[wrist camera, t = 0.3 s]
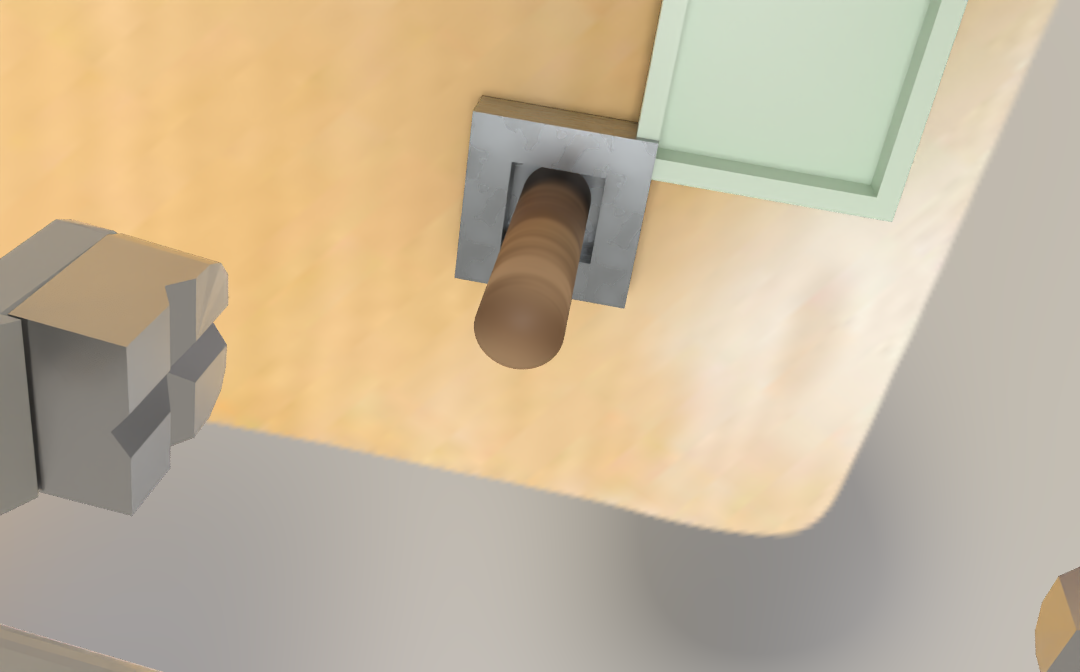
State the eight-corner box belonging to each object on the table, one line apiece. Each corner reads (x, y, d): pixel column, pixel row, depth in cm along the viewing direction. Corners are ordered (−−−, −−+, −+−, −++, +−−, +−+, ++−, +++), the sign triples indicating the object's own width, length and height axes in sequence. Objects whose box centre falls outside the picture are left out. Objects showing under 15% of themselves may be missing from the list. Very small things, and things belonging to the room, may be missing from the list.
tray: (684, -114, 50) (685, -109, 48) (974, -66, 50) (988, -59, 48) (630, 160, 57) (629, 175, 55) (883, 204, 57) (892, 222, 55)
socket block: (482, 95, 57) (473, 111, 54) (659, 126, 56) (658, 143, 54) (464, 256, 61) (454, 277, 59) (626, 285, 61) (624, 308, 59)
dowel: (526, 158, 57) (479, 281, 44) (596, 171, 57) (570, 298, 43) (517, 223, 59) (469, 360, 46) (584, 235, 59) (557, 376, 45)
